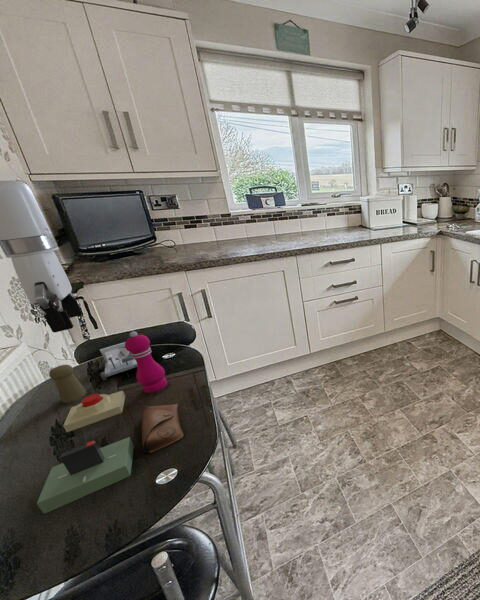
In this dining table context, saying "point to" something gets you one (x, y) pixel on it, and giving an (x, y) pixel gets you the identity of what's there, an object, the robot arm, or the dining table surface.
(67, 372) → the cork
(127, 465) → the panel
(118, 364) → the silver toaster
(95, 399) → the red button
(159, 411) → the sunglasses case
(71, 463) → the handle knob
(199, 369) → the dining table surface
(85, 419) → the button block
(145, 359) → the pepper mill
